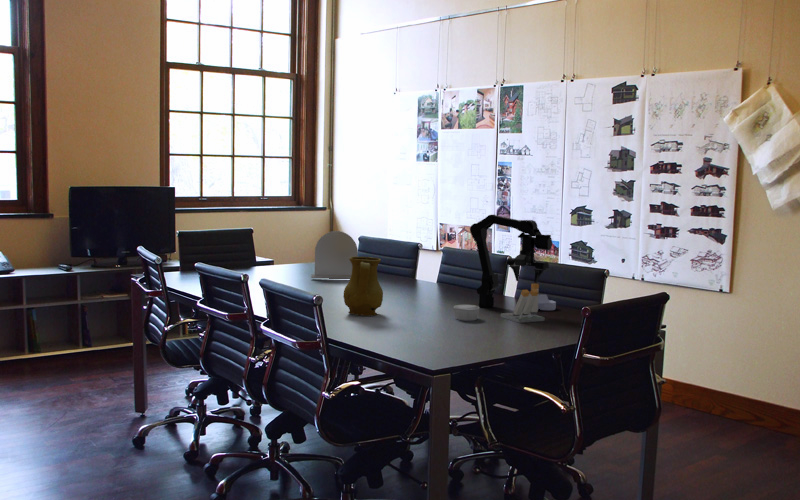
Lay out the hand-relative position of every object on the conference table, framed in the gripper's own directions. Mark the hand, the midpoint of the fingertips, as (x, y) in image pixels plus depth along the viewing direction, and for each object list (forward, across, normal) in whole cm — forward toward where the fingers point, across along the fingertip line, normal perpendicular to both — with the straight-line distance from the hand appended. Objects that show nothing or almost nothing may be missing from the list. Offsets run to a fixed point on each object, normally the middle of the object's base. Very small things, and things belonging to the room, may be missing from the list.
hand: (526, 282), depth 341 cm
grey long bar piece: (+11, +10, -17) cm, 22 cm away
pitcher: (+14, -48, -57) cm, 76 cm away
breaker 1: (+11, +8, -21) cm, 25 cm away
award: (+16, -128, +11) cm, 129 cm away
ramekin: (+14, -10, -33) cm, 37 cm away
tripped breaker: (+11, +12, -13) cm, 21 cm away
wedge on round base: (+14, +2, +12) cm, 18 cm away
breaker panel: (+13, +8, -16) cm, 22 cm away
